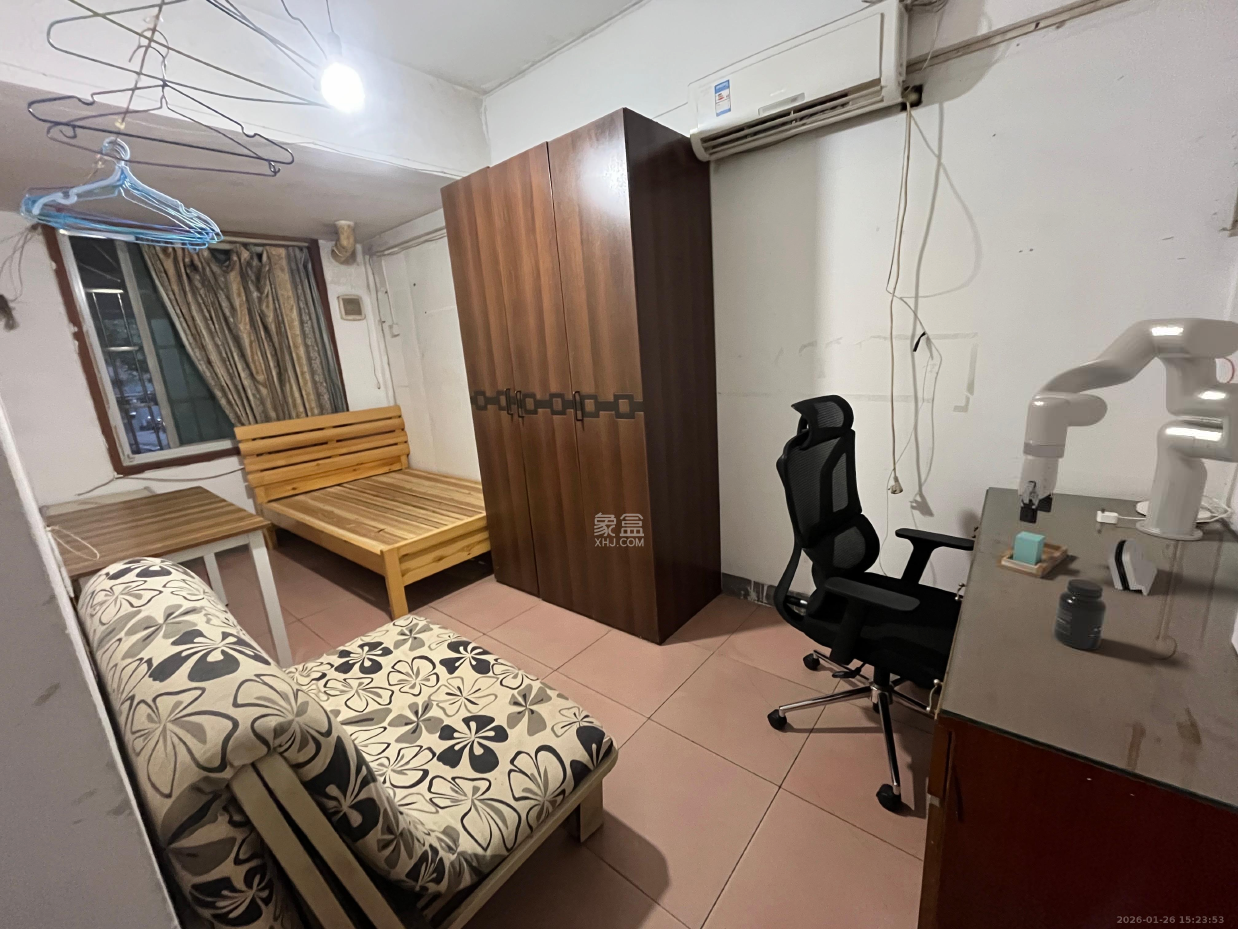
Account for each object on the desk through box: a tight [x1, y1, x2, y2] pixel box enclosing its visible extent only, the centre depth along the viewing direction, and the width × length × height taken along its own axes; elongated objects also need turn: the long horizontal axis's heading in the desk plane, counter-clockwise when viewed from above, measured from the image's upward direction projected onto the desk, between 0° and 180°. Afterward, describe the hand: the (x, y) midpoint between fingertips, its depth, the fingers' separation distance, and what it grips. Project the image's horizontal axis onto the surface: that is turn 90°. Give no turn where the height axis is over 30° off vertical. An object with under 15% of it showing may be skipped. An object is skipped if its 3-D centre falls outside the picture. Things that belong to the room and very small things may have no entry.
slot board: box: [995, 541, 1069, 579], centre depth 129 cm, size 19×9×2 cm, turn 125°
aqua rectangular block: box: [1013, 530, 1046, 566], centre depth 126 cm, size 4×4×7 cm
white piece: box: [1107, 538, 1158, 597], centre depth 117 cm, size 17×5×10 cm, turn 129°
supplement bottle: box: [1052, 578, 1108, 651], centre depth 96 cm, size 7×7×12 cm
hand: (1035, 516), depth 124 cm, fingers open, 9 cm apart
